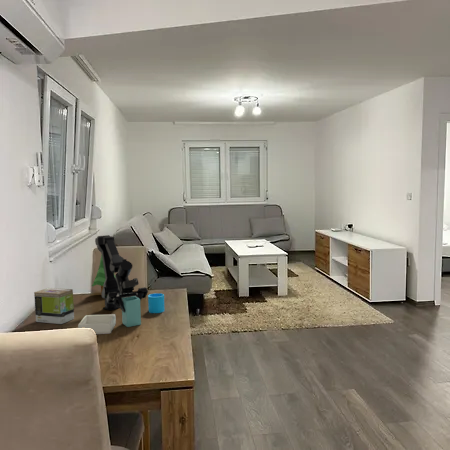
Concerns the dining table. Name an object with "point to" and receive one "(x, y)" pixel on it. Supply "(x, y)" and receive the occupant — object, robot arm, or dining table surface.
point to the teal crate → (131, 311)
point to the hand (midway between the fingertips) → (132, 310)
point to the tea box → (54, 305)
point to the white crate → (99, 323)
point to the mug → (156, 303)
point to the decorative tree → (100, 275)
